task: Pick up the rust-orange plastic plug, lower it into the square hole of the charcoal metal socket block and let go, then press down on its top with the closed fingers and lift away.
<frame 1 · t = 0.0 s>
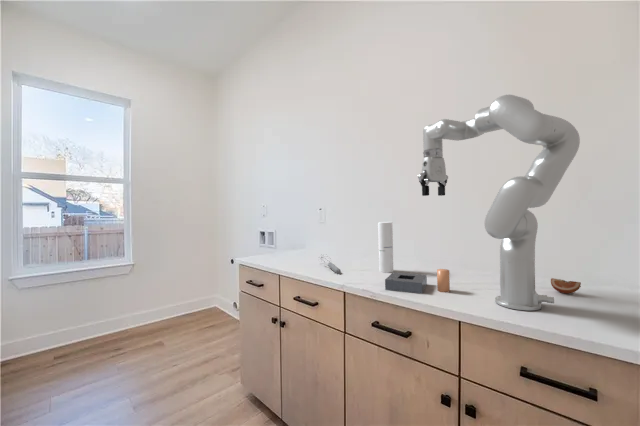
hand: (433, 195, 124), 37 cm above the worktop, tool pointing down, fingers open, 9 cm apart
plug: (443, 290, 114), on the worktop
fruit slice: (565, 294, 106), on the worktop
socket block: (406, 286, 120), on the worktop
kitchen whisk: (330, 268, 161), on the worktop
cylindrical container: (386, 271, 150), on the worktop
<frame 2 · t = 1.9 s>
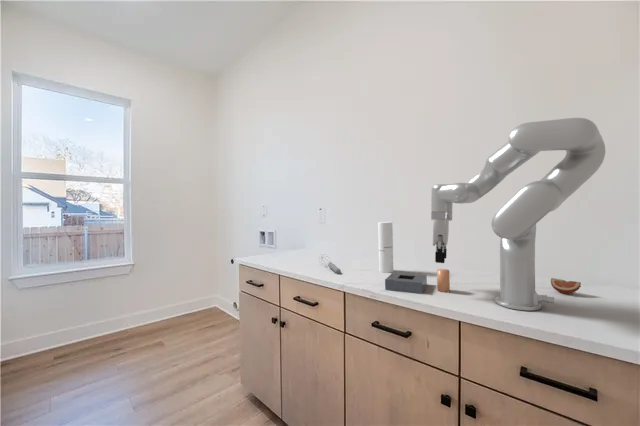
hand: (441, 260, 114), 12 cm above the worktop, tool pointing down, fingers open, 9 cm apart
nothing on the worktop moved.
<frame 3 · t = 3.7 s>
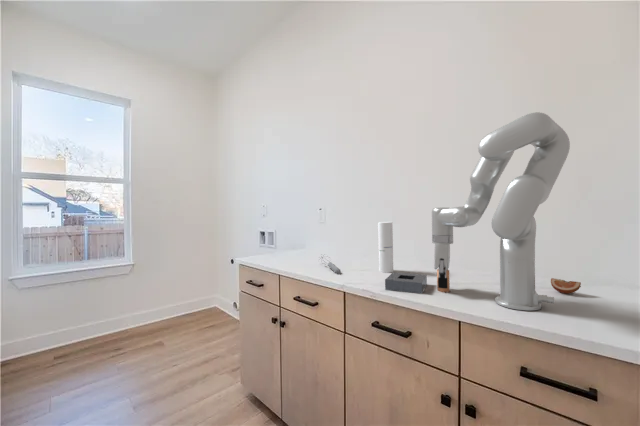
hand: (443, 285, 114), 2 cm above the worktop, tool pointing down, fingers closed on plug, 4 cm apart
plug: (443, 290, 114), on the worktop, touching gripper
everything else where it was.
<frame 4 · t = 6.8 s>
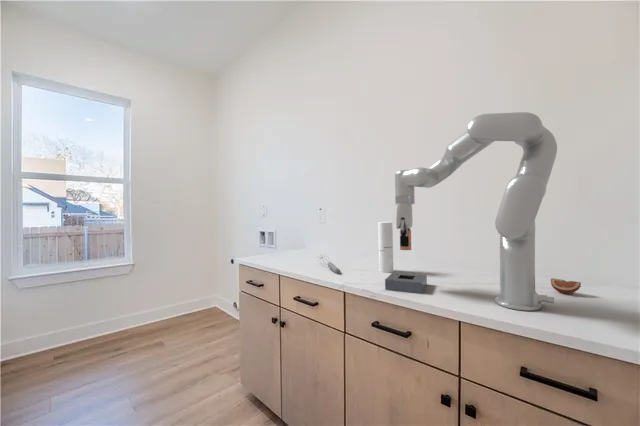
hand: (405, 245, 120), 17 cm above the worktop, tool pointing down, fingers closed on plug, 4 cm apart
plug: (405, 249, 120), point 15 cm above the worktop, touching gripper
everything else where it was.
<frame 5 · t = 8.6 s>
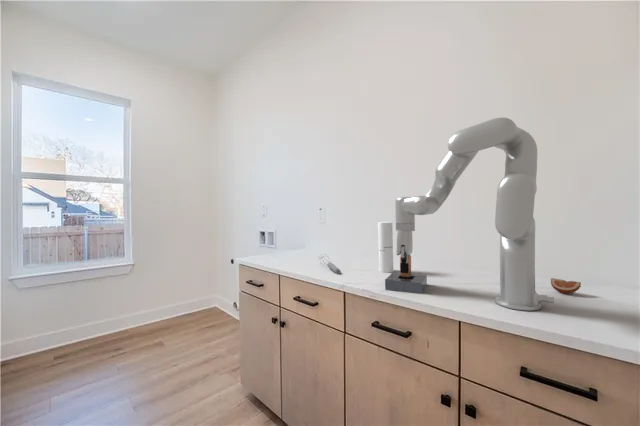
hand: (405, 271, 120), 6 cm above the worktop, tool pointing down, fingers closed on plug, 4 cm apart
plug: (405, 275, 120), point 5 cm above the worktop, touching gripper
everything else where it was.
when the fingers open (4 cm above the worktop, at t = 9.9 s): plug drops 2 cm, resting in socket block.
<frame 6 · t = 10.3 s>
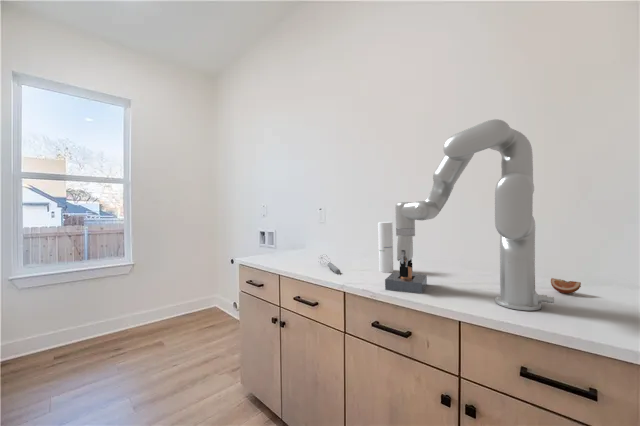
hand: (406, 274, 120), 5 cm above the worktop, tool pointing down, fingers open, 9 cm apart
plug: (406, 287, 120), resting in socket block
everything else where it was.
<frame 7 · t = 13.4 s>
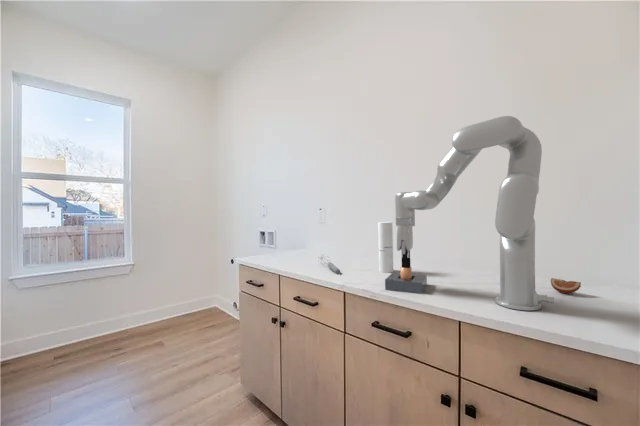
hand: (406, 267, 120), 8 cm above the worktop, tool pointing down, fingers closed
nothing on the worktop moved.
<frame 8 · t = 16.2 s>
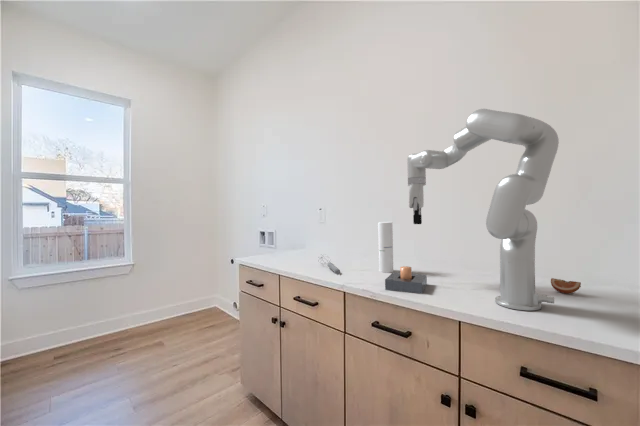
hand: (417, 223, 129), 25 cm above the worktop, tool pointing down, fingers closed
nothing on the worktop moved.
at the end: plug 0.1 cm off-centre on the socket block, point 0.0 cm above the socket block's base; plug tilted 1°; the gripper is holding nothing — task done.
